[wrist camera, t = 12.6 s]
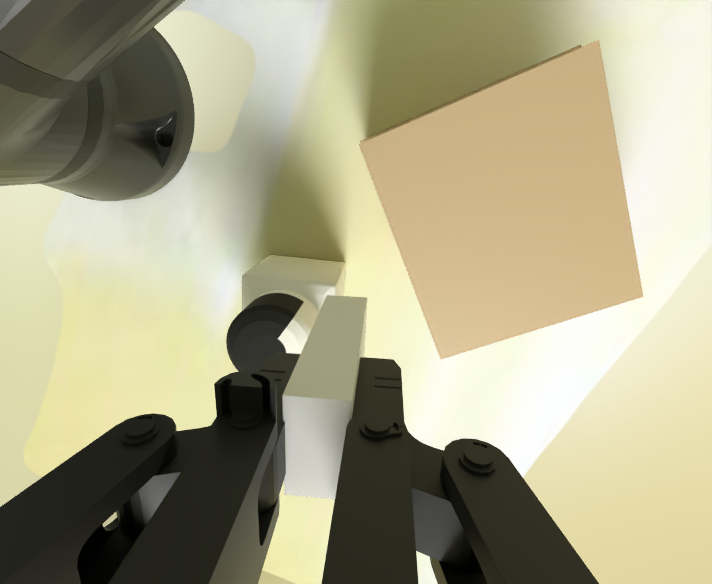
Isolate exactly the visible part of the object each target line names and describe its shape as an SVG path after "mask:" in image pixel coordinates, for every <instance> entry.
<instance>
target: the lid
mask: <svg viewBox="0 0 712 584" xmlns="http://www.w3.org/2000/svg"><path fill="white" fill-rule="evenodd" d="M359 146H360V148H361V151H362V154H363V156H364V159H365V161H366V164H367V167H368V169H369V172H370V175H371V177H372V180H373V182H374V185H375V188H376V190H377V193H378V196H379V198H380V201H381V204H382V206H383V209H384V211H385V214H386V217H387V219H388V222H389V225H390V227H391V230H392V232H393V235H394V238H395V240H396V243H397V246H398V248H399V251H400V254H401V256H402V259H403V261H404V264H405V267H406V269H407V272H408V275H409V277H410V280H411V282H412V285H413V288H414V290H415V293H416V296H417V298H418V301H419V303H420V306H421V309H422V311H423V314H424V317H425V319H426V322H427V325H428V327H429V330H430V332H431V335H432V338H433V340H434V343H435V346H436V348H437V351H438V353H439V356H440V359H444V358H447V357H450V356H453V355H457V354H460V353H463V352H466V351H469V350H473V349H476V348H479V347H482V346H486V345H489V344H492V343H495V342H498V341H502V340H505V339H508V338H511V337H515V336H518V335H521V334H524V333H527V332H531V331H534V330H537V329H540V328H544V327H547V326H550V325H553V324H557V323H560V322H563V321H566V320H569V319H573V318H576V317H579V316H582V315H586V314H589V313H592V312H595V311H598V310H602V309H605V308H608V307H611V306H615V305H618V304H621V303H624V302H627V301H631V300H634V299H637V298H640V297H643V293H642V287H641V281H640V275H639V269H638V264H637V258H636V252H635V246H634V241H633V235H632V229H631V223H630V217H629V212H628V206H627V200H626V194H625V189H624V183H623V177H622V171H621V165H620V160H619V154H618V148H617V142H616V136H615V131H614V125H613V119H612V113H611V108H610V102H609V96H608V90H607V84H606V79H605V73H604V67H603V61H602V56H601V50H600V44H599V40H598V41H595V42H593V43H591V44H589V45H586V46H584V47H582V48H579V49H577V50H575V51H572V52H570V53H568V54H566V55H563V56H561V57H559V58H556V59H554V60H552V61H549V62H547V63H545V64H542V65H540V66H538V67H536V68H533V69H531V70H529V71H526V72H524V73H522V74H519V75H517V76H515V77H513V78H510V79H508V80H506V81H503V82H501V83H499V84H496V85H494V86H492V87H489V88H487V89H485V90H483V91H480V92H478V93H476V94H473V95H471V96H469V97H466V98H464V99H462V100H460V101H457V102H455V103H453V104H450V105H448V106H446V107H443V108H441V109H439V110H436V111H434V112H432V113H430V114H427V115H425V116H423V117H420V118H418V119H416V120H413V121H411V122H409V123H407V124H404V125H402V126H400V127H397V128H395V129H393V130H390V131H388V132H386V133H383V134H381V135H379V136H377V137H374V138H372V139H370V140H367V141H365V142H363V143H360V144H359Z"/></svg>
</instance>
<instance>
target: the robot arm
mask: <svg viewBox="0 0 712 584" xmlns="http://www.w3.org/2000/svg"><path fill="white" fill-rule="evenodd" d="M183 1H185V0H0V186H5V185H6V186H7V185H24V184H37V183H40V184H43V185H46V186H50V187H53V188H56V189H59V190H62V191H66V192H69V193H72V194H75V195H77V196H80V197H83V198H87V199H92V200H99V201H120V200H128V199H136V198H140V197H144V196H147V195H149V194H152V193H154V192H156V191H158V190H159V189H161V188H162V187H164V186H165V185H166V184H167V183H169V182H170V181H171V180H172V179H173V178H174V177H175V175H176V174H177V173H178V172H179V170H180V169H181V167H182V165H183V164H184V162H185V160H186V158H187V155H188V153H189V150H190V147H191V143H192V139H193V133H194V104H193V98H192V93H191V89H190V85H189V82H188V79H187V76H186V74H185V71H184V69H183V67H182V65H181V63H180V61H179V59H178V57H177V56H176V54H175V52H174V51H173V49H172V48H171V46H170V45H169V44H168V43H167V41H166V40H165V39H164V38H163V36H162V35H161V34H160V33H159V32H158V31H157V30H156V29H155V28H154V26H155V25H156V24H157V23H159V22H160V21H161V20H162V19H163V18H164V17H165V16H167V15H168V14H169V13H170V12H172V11H173V10H174V9H175V8H176V7H177V6H179V5H180V4H181V3H182V2H183ZM366 310H367V298H364V297H349V296H333V295H327V296H326V298H325V300H324V302H323V305H322V307H321V309H320V311H319V314H318V316H317V318H316V320H315V323H314V325H313V327H312V330H311V332H310V334H309V336H308V339H307V341H306V343H305V345H304V348H303V350H302V352H301V354H294V353H280V352H277V353H275V354H274V355H272V356H271V357H269V358H268V359H266V360H265V362H264V363H263V365H262V367H261V368H260V371H255V370H253V371H239V372H235V373H231V374H229V375H226V376H224V377H222V378H220V379H219V380H218V381H217V382H216V383H215V384H214V386H215V398H216V410H217V417H216V419H215V420H214V422H213V424H212V425H211V426H208V427H203V428H198V429H191V430H183V431H176V425H175V423H174V421H173V419H172V418H170V417H168V416H166V415H161V414H145V415H140V416H137V417H133V418H130V419H127V420H125V421H124V422H122V423H120V424H118V425H116V426H115V427H113V428H112V429H110V430H109V431H108V432H106V433H105V434H103V435H102V436H100V437H99V438H98V439H96V440H95V441H93V442H92V443H91V444H89V445H88V446H86V447H85V448H83V449H82V450H81V451H79V452H78V453H76V454H75V455H73V456H72V457H71V458H69V459H68V460H66V461H65V462H64V463H62V464H61V465H59V466H58V467H56V468H55V469H54V470H52V471H51V472H49V473H48V474H47V475H45V476H44V477H42V478H41V479H40V480H38V481H37V482H36V483H34V484H32V485H31V486H30V487H28V488H27V489H25V490H24V491H22V492H21V493H20V494H19V495H17V496H15V497H14V498H12V499H11V500H10V501H9V502H7V503H6V504H4V505H3V506H1V507H0V584H258V581H259V578H260V574H261V571H262V568H263V565H264V561H265V558H266V555H267V551H268V548H269V545H270V542H271V538H272V535H273V532H274V528H275V525H276V522H277V518H278V515H279V493H280V490H281V487H282V484H283V481H284V495H295V496H305V497H316V498H326V499H335V503H334V509H333V516H332V522H331V528H330V534H329V541H328V547H327V553H326V560H325V566H324V572H323V579H322V584H418V573H417V558H416V551H418V552H420V553H423V554H425V555H427V556H430V561H431V565H432V568H433V571H434V574H435V577H436V580H437V582H438V584H599V583H598V582H597V580H596V579H595V577H594V576H593V575H592V573H591V572H590V570H589V569H588V568H587V567H586V565H585V564H584V562H583V561H582V559H581V558H580V557H579V555H578V554H577V553H576V551H575V550H574V548H573V547H572V546H571V544H570V543H569V541H568V540H567V539H566V537H565V536H564V534H563V533H562V532H561V530H560V529H559V527H558V526H557V525H556V523H555V522H554V521H553V519H552V518H551V516H550V515H549V514H548V512H547V511H546V510H545V508H544V507H543V505H542V504H541V503H540V501H539V500H538V498H537V497H536V496H535V494H534V493H533V491H532V490H531V489H530V487H529V486H528V485H527V483H526V482H525V480H524V479H523V478H522V476H521V475H520V473H519V472H518V471H517V469H516V468H515V467H514V465H513V464H512V462H511V461H510V460H509V458H508V457H507V456H506V455H505V454H504V453H503V452H502V451H501V450H500V449H498V448H496V447H494V446H493V445H491V444H489V443H487V442H483V441H480V440H477V439H459V440H455V441H452V442H451V443H450V444H448V445H447V446H446V447H445V450H444V451H443V450H440V449H436V448H433V447H430V446H428V445H426V444H423V443H421V442H420V441H418V440H417V439H415V438H414V437H413V436H412V435H411V434H410V433H409V432H408V430H407V428H406V425H405V423H404V412H403V395H402V381H401V380H402V378H401V368H400V367H399V366H398V365H397V363H396V362H395V361H394V360H391V359H378V358H364V347H365V329H366ZM114 512H117V518H116V519H115V520H114V521H113V522H111V523H110V524H108V525H107V526H106V527H103V525H102V524H103V523H104V522H105V521H106V520H107V519H108V518H109V517H110V516H111V515H113V514H114Z"/></svg>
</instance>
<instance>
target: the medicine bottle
mask: <svg viewBox="0 0 712 584" xmlns="http://www.w3.org/2000/svg"><path fill="white" fill-rule="evenodd" d="M345 274H346V264H345V263H343V262H336V261H326V260H316V259H307V258H297V257H288V256H278V255H269V256H268V257H267V258H265V259H264V260H262V261H261V262H260V263H258V264H257V265H256V266H254V267H253V268H252V269H250V270H249V271H247V272H246V273H245V274H244V275H243V276H242V312H241V313H240V314H239V315H238V316H237V317H236V318H235V319H234V320H233V322H232V323H231V325H230V327H229V329H228V333H227V340H226V342H227V350H228V354H229V357H230V359H231V361H232V363H233V365H234V366H235V367H236V369H237V370H238V371H253V370H255V371H260V368H261V367H262V365H263V363H264V362H265V360H266V359H268V358H269V357H271V356H272V355H274V354H275V353H277V352H280V353H294V354H301V352H302V350H303V348H304V345H305V343H306V341H307V339H308V336H309V334H310V332H311V330H312V327H313V325H314V323H315V320H316V318H317V316H318V314H319V311H320V309H321V307H322V305H323V302H324V300H325V298H326V296H327V295H333V296H344V287H345Z"/></svg>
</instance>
